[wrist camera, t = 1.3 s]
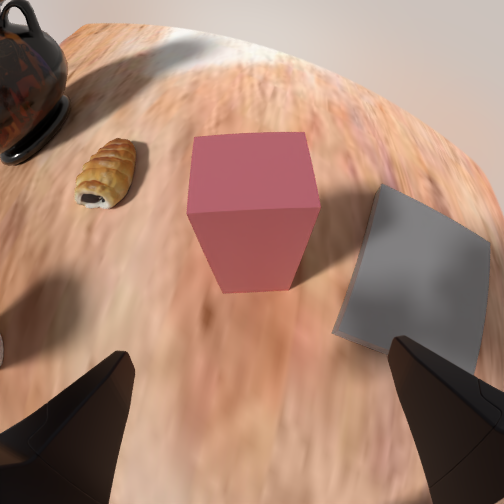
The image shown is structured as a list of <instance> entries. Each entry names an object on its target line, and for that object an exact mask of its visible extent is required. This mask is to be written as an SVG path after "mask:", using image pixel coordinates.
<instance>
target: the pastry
mask: <svg viewBox="0 0 504 504" xmlns="http://www.w3.org/2000/svg"><path fill="white" fill-rule="evenodd" d="M135 161H136V151H135V148H134V145H133V144H132V142H130V141H129V140H126V139H120V138H116V139H114V140H112V141H110V142H108V143H107V144H106V145H105V146H104V147H103V148H100V149H99V150H98V152H97V153H96V154H95V155H92V156H91V158H90V161H89V162H87V163H85V164H84V165H83V172H82V173H81V174H79V175H78V176H77V178H76V186H77V187H76V188H75V201H76V202H77V204H79V205H83V206H86V207H87V208H98V207H101V208H103V209H109V208H112V207H113V206H114V205H116V204H117V203H118V202H120V201H121V200H122V199H123V198H124V197H125V195H126V194H127V192H128V189H129V186H130V185H131V183H132V178H133V174H134V167H135Z"/></svg>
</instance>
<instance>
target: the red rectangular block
mask: <svg viewBox="0 0 504 504" xmlns="http://www.w3.org/2000/svg"><path fill="white" fill-rule="evenodd" d="M320 208H321V205H320V200H319V195H318V190H317V185H316V180H315V175H314V171H313V166H312V162H311V157H310V153H309V149H308V144H307V140H306V136H305V132H264V133H240V134H224V135H212V136H201V137H194V144H193V152H192V161H191V170H190V180H189V191H188V202H187V216H188V218H189V220H190V223H191V225H192V227H193V229H194V232H195V234H196V236H197V239H198V241H199V243H200V245H201V247H202V250H203V252H204V254H205V256H206V258H207V261H208V263H209V265H210V267H211V269H212V271H213V274H214V276H215V278H216V280H217V282H218V284H219V286H220V288H221V291H222V293H244V292H265V291H282V290H289V289H290V286H291V284H292V281H293V279H294V276H295V274H296V271H297V269H298V266H299V264H300V261H301V259H302V256H303V254H304V251H305V248H306V246H307V243H308V241H309V238H310V235H311V233H312V230H313V227H314V225H315V222H316V219H317V217H318V214H319V211H320Z"/></svg>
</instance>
